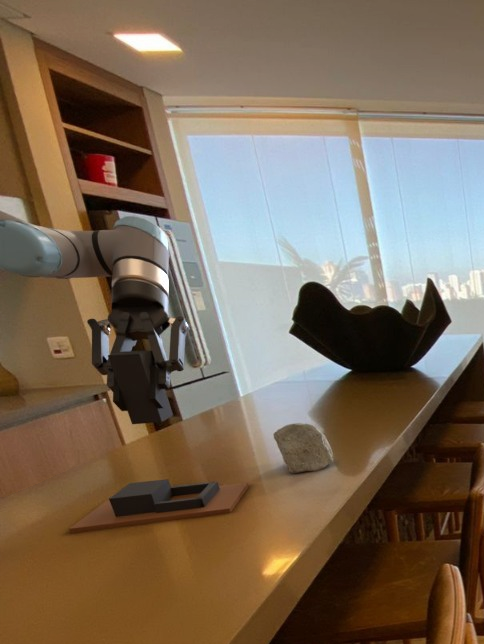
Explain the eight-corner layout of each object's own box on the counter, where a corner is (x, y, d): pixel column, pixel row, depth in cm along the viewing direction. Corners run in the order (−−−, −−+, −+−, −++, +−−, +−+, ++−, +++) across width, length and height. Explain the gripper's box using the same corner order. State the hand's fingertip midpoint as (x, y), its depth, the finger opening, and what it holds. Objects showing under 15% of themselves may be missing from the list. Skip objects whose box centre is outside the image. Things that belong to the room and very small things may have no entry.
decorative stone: (322, 476, 107) (338, 428, 110) (257, 461, 104) (275, 411, 106) (330, 490, 119) (344, 446, 121) (272, 476, 115) (288, 431, 118)
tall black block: (132, 424, 92) (107, 355, 88) (145, 417, 97) (122, 351, 93) (161, 422, 94) (139, 353, 89) (173, 415, 99) (152, 350, 95)
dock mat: (71, 535, 83) (60, 509, 82) (111, 503, 95) (102, 481, 94) (231, 514, 90) (223, 490, 89) (249, 487, 102) (243, 466, 101)
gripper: (207, 308, 105) (210, 413, 97) (91, 311, 99) (84, 423, 91) (190, 277, 99) (192, 386, 91) (65, 277, 92) (55, 395, 85)
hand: (138, 404), depth 91 cm, fingers closed on tall black block, 4 cm apart
